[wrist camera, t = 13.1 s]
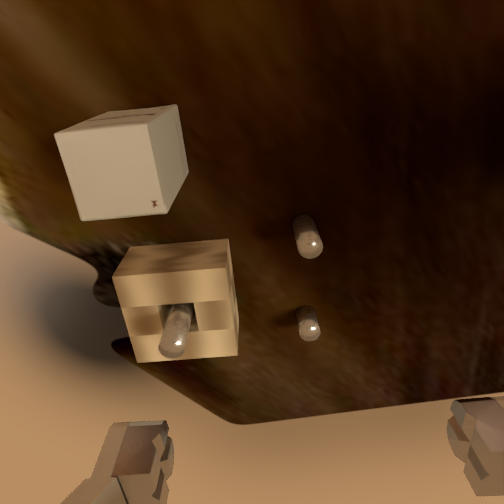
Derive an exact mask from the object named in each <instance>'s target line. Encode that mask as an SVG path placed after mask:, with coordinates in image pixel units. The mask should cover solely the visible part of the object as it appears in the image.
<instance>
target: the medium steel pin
mask: <svg viewBox="0 0 504 504" xmlns="http://www.w3.org/2000/svg"><path fill="white" fill-rule="evenodd" d="M292 227H293V231H294V235H295V239H296V243H297V247H298V251H299V253H300V255H301V256H303V257H304V258H308V259H311V258H315V257H317V256H319V255H320V254H321V252H322V250H323V243H322V241H321V238H320V236H319V233H318V231H317V228H316V225H315V223H314V220H313V219H312V217H310V216H309V215H305V214H303V215H299V216H297V217H296V218H295V219H294V221H293V223H292Z"/></svg>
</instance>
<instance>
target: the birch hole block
mask: <svg viewBox="0 0 504 504" xmlns="http://www.w3.org/2000/svg"><path fill="white" fill-rule="evenodd" d="M112 279H113V283H114V286H115V289H116V293H117V296H118V299H119V303H120V306H121V309H122V313H123V316H124V319H125V323H126V326H127V329H128V332H129V336H130V339H131V343H132V346H133V349H134V353H135V356H136V359H137V363H141V362H155V361H168V360H182V359H196V358H209V357H223V356H236V355H238V328H239V317H238V309H237V301H236V293H235V285H234V277H233V270H232V262H231V254H230V246H229V239H219V240H207V241H195V242H183V243H171V244H159V245H147V246H135V247H130V248H129V249H128V251H127V253H126V254H125V256H124V258H123V259H122V261H121V263H120V264H119V266H118V268H117V269H116V271H115V272H114V274H113V276H112ZM192 302H193V303H194V310H193V315H192V319H191V324H190V328H189V332H188V337H187V341H186V346H185V350H184V353H183V355H182V356H180V357H178V358H174V359H171V358H167V357H165V356H163V355H162V354H161V353H160V352H159V349H158V346H159V343H160V340H161V337H162V333H163V330H164V327H165V324H166V321H167V318H168V315H169V311H170V308H171V305H172V304H179V303H192Z"/></svg>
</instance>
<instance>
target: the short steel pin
mask: <svg viewBox="0 0 504 504" xmlns="http://www.w3.org/2000/svg"><path fill="white" fill-rule="evenodd" d="M296 317H297V323H298V328H299V334H300V337H301V338H302V339H303V340H305V341H313V340H316V339H317V338H318V337H319V336H320V328H319V324H318V320H317V316H316V312H315V310H314V308H312V307H311V306H302V307H300V308H299V309H298V310H297V312H296Z"/></svg>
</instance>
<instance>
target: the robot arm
mask: <svg viewBox="0 0 504 504" xmlns="http://www.w3.org/2000/svg"><path fill="white" fill-rule="evenodd" d="M451 411H452V413H453V416H452V417H451V418H450V419H449V420H448V424H447V434H448V440H449V443H450V445H451V448H452V450H453V452H454V454H455V456H456V457H458V458H459V459H460V460H462V461H463V462H464V463H465V467H464V473H465V475H466V477H467V479H468V481H469V483H470V485H471V486H472V488H473V490H474V492H475V494H476V496H497V495H498V496H499V495H504V396H502V397H491V398H490V397H484V398H471V399H459V400H454V401H453V402H452V405H451ZM168 430H169V427H168V424H167V421H165V420H163V421H140V422H121V423H113V424H112V425H111V427H110V428H109V431H108V433H107V436H106V438H105V441H104V444H103V446H102V449H101V452H100V454H99V457H98V460H97V463H96V465H95V468H94V471H93V473H92V476H91V478H90V479H85V480H84V481H83V482H82V483H81V484H80V485H79V486H78V487H77V488H76V489H75V490H74V491H73V492H72V493H71V494H70V495H69V496H68V497H67V498H66V499H65V500H64V501H63V502H62V503H61V504H166V503H167V497H168V492H169V489H168V486H167V482H166V480H167V479H168V478H169V477H170V476H171V474H172V470H173V464H174V448H173V442H172V439H171V438H170V437H169V436H167V435H168Z"/></svg>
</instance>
